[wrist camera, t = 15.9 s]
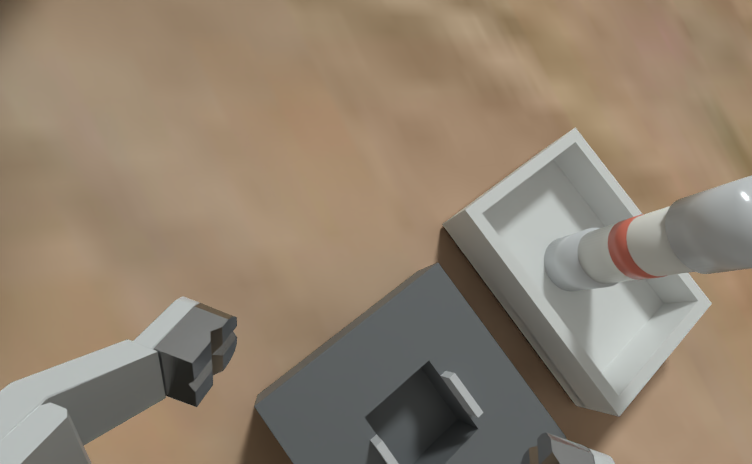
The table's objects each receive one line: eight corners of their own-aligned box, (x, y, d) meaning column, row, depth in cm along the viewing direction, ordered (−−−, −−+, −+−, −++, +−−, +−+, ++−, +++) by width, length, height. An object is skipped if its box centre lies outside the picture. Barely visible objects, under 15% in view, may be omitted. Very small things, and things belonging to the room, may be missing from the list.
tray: (442, 224, 27) (465, 209, 24) (543, 149, 31) (575, 127, 27) (576, 405, 26) (619, 416, 23) (663, 306, 30) (711, 303, 26)
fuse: (533, 257, 27) (719, 204, 16) (568, 227, 28) (762, 159, 17) (567, 302, 27) (780, 282, 15) (600, 271, 28) (819, 231, 17)
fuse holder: (257, 394, 22) (252, 411, 17) (417, 271, 26) (446, 258, 21) (384, 580, 21) (413, 646, 17) (528, 423, 25) (582, 443, 21)
